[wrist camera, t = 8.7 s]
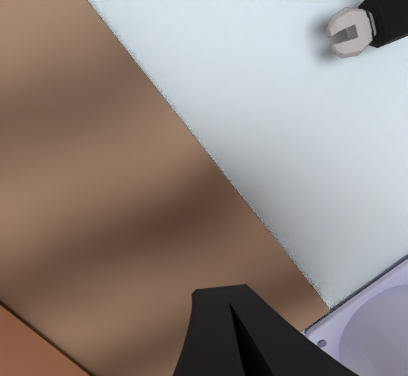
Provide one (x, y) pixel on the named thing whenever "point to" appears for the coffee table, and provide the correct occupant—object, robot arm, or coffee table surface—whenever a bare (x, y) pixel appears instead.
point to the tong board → (115, 202)
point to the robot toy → (369, 25)
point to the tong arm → (30, 352)
